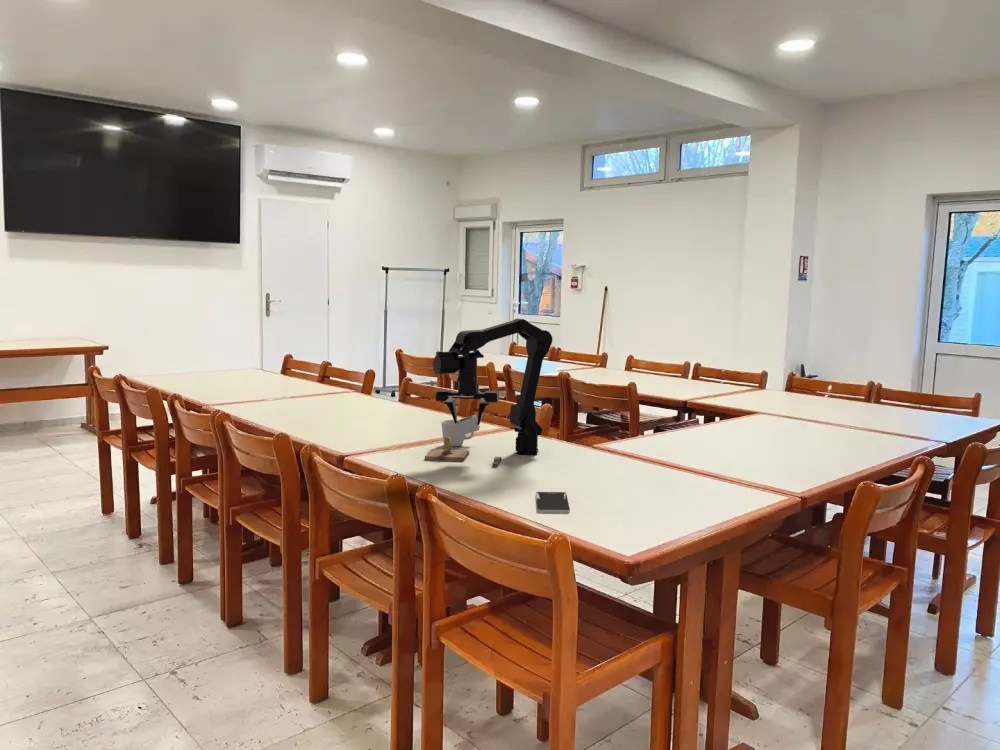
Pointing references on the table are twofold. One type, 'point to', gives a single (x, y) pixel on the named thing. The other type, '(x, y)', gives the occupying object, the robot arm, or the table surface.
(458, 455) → the wooden peg board
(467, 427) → the end link
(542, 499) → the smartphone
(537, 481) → the table surface
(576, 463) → the table surface
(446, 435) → the cup
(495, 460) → the grey long bar
